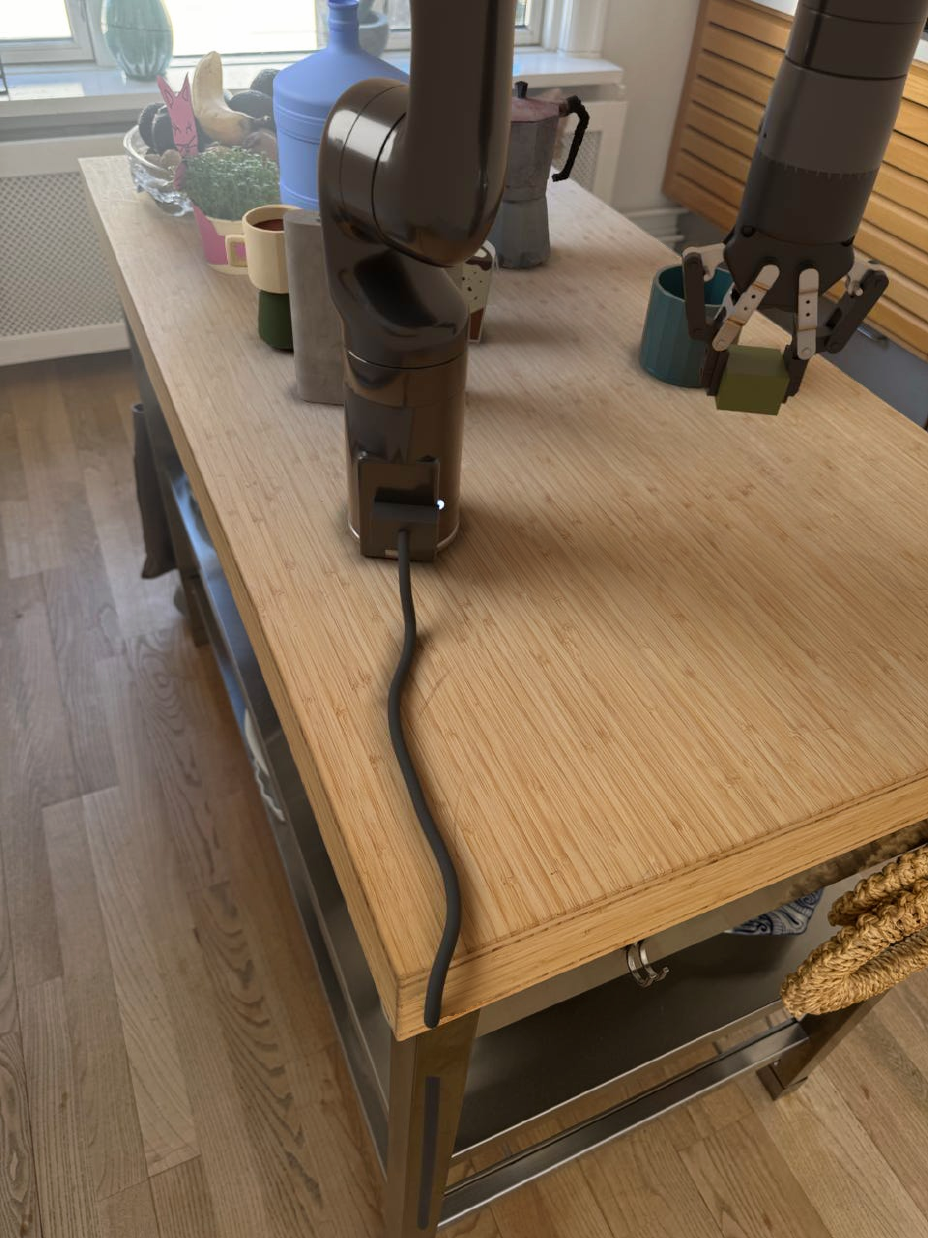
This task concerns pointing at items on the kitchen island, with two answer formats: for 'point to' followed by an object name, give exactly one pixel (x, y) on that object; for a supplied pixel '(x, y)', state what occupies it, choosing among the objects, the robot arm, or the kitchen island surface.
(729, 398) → the olive green cube
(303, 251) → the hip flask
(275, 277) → the character mug
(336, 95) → the water jug
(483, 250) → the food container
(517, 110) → the moka pot
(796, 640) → the kitchen island surface
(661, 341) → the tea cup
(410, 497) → the robot arm
